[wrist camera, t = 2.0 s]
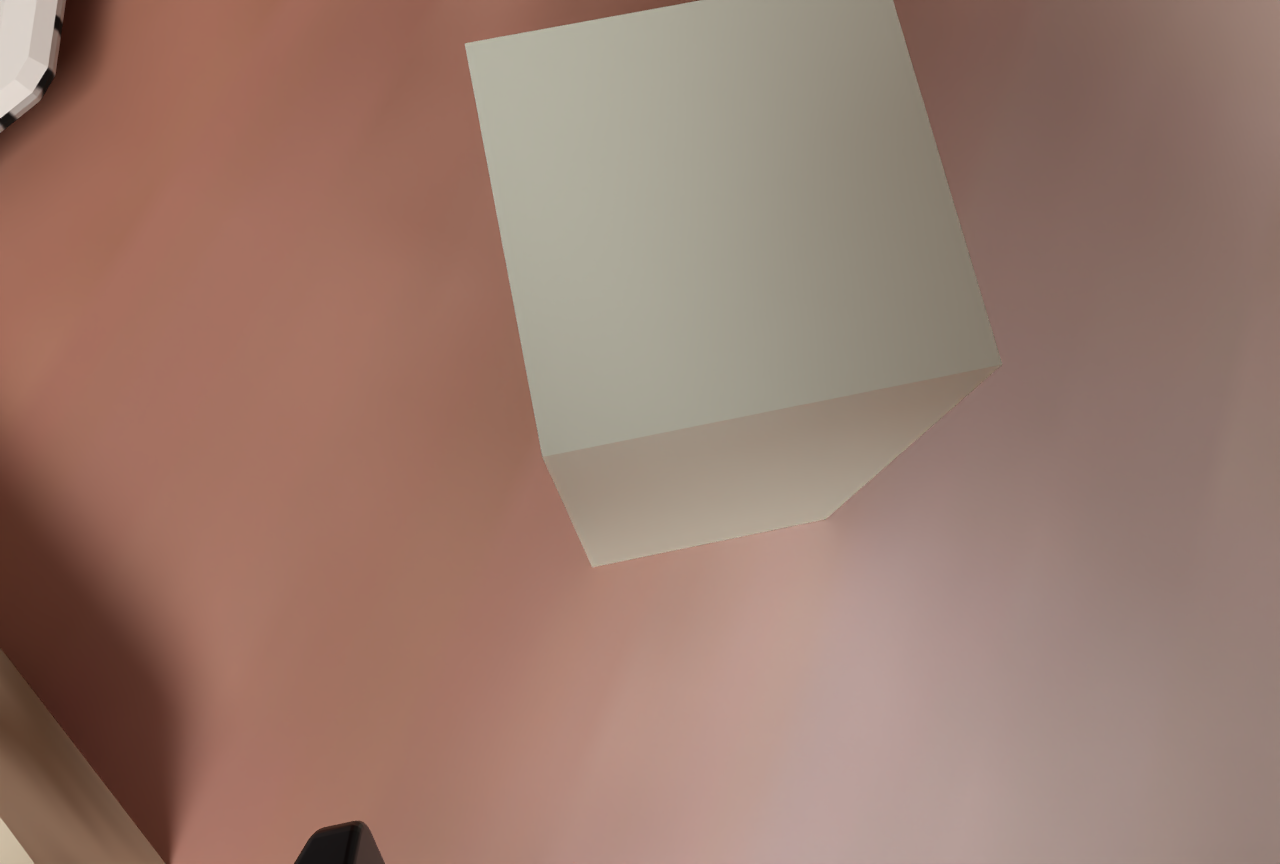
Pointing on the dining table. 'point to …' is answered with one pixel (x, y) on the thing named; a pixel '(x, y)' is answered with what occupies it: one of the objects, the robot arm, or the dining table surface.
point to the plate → (27, 53)
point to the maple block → (55, 791)
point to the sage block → (725, 262)
